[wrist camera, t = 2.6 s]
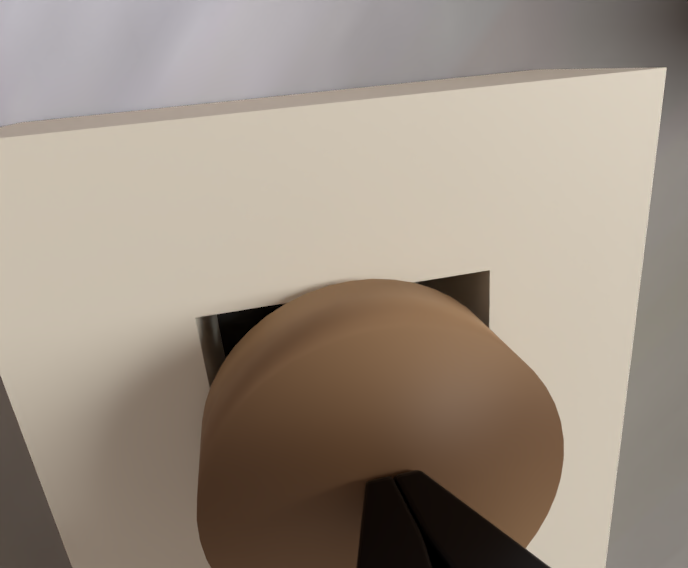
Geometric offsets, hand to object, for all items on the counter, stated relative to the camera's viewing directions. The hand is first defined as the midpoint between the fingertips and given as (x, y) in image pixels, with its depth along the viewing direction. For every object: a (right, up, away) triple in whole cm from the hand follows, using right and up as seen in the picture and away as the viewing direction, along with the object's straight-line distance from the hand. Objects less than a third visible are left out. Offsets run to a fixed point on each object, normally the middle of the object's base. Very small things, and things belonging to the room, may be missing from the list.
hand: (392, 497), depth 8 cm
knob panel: (-1, -3, +8) cm, 8 cm away
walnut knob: (-1, +2, +4) cm, 5 cm away
